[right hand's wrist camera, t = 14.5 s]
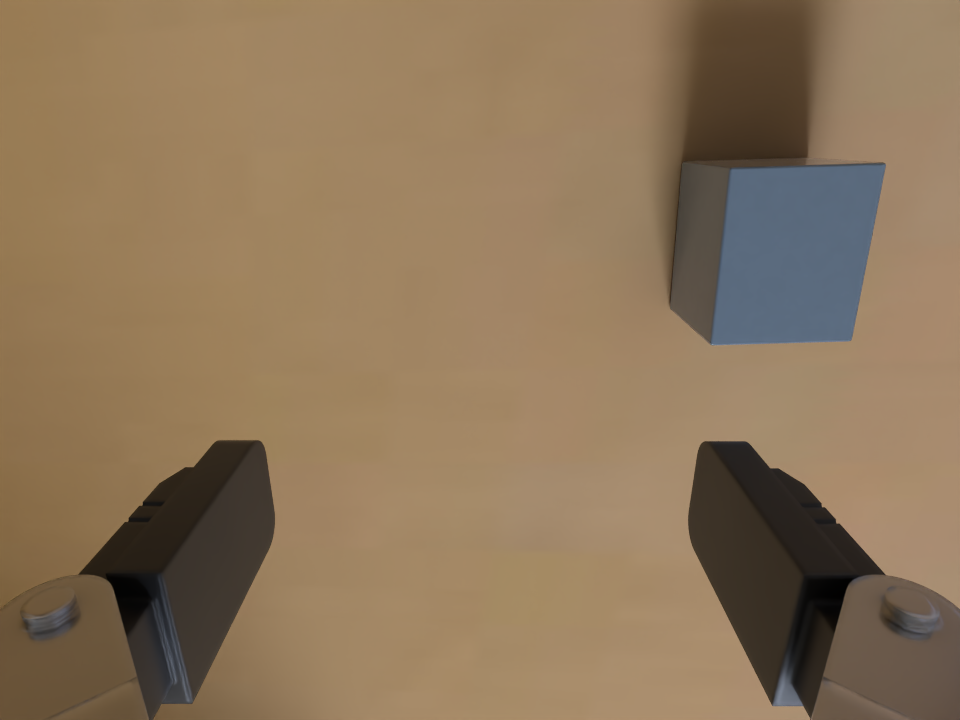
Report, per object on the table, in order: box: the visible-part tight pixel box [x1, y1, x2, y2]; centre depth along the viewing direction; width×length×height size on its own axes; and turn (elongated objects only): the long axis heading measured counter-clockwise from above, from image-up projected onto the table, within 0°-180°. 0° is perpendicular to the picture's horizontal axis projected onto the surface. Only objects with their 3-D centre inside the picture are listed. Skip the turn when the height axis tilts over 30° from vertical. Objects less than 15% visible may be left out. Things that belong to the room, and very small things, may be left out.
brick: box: [670, 158, 886, 345], centre depth 19 cm, size 4×5×4 cm
